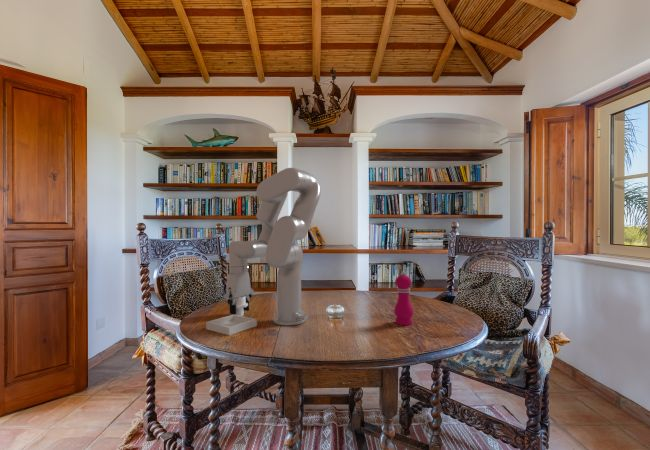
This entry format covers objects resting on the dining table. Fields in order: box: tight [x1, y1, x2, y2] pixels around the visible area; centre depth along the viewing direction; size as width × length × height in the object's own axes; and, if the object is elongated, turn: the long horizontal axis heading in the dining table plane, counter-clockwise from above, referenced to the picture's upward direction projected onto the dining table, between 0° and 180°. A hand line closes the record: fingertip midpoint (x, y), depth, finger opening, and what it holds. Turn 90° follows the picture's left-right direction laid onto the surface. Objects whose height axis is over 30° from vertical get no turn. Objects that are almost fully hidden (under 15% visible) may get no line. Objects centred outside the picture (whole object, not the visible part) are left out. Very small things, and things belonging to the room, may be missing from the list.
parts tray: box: [205, 314, 258, 336], centre depth 128 cm, size 13×13×3 cm
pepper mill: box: [393, 270, 414, 326], centre depth 131 cm, size 7×7×20 cm
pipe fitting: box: [234, 296, 248, 316], centre depth 144 cm, size 6×7×8 cm
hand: (239, 311), depth 144 cm, fingers closed on pipe fitting, 6 cm apart
